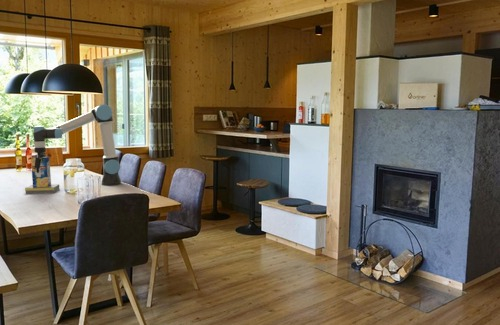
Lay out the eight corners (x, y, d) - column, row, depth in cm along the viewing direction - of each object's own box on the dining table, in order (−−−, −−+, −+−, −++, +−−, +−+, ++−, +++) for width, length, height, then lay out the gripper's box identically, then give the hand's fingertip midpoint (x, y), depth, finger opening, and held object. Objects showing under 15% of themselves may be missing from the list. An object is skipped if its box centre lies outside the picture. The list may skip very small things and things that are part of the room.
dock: (59, 189, 341) (59, 184, 341) (53, 193, 328) (53, 187, 327) (32, 190, 339) (31, 184, 338) (25, 193, 326) (24, 188, 325)
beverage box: (48, 186, 330) (46, 157, 327) (32, 187, 329) (30, 157, 326) (51, 185, 337) (49, 156, 334) (36, 185, 336) (34, 156, 333)
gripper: (40, 145, 341) (42, 172, 344) (28, 148, 316) (30, 178, 319) (50, 145, 342) (52, 172, 345) (39, 148, 317) (41, 178, 320)
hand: (41, 175), depth 332 cm, fingers open, 13 cm apart
